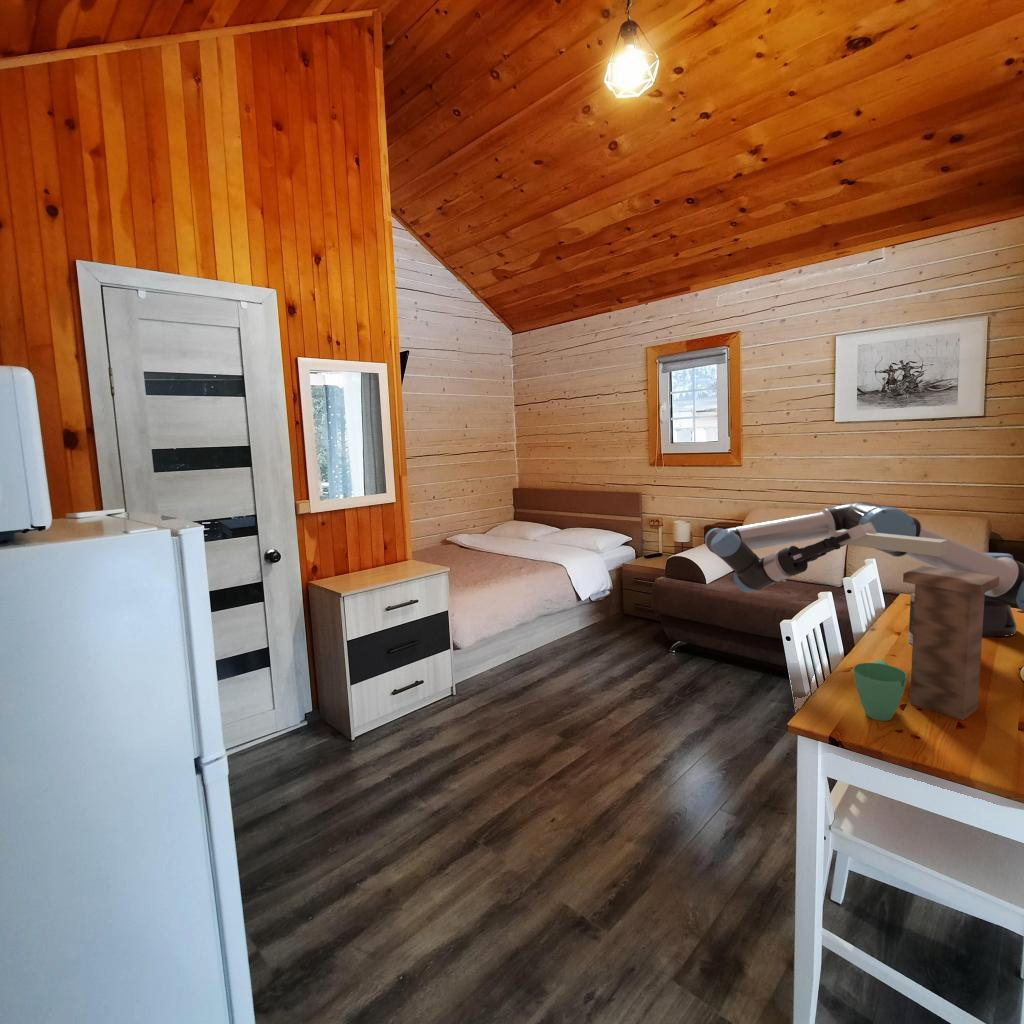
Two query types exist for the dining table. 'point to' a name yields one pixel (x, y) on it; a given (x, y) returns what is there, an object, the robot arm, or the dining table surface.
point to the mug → (880, 688)
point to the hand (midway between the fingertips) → (868, 528)
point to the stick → (900, 543)
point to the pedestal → (947, 638)
